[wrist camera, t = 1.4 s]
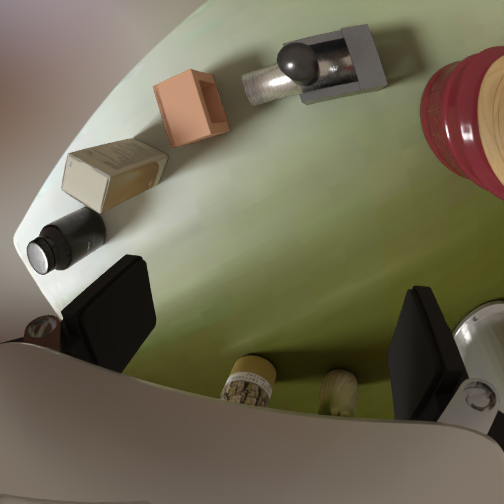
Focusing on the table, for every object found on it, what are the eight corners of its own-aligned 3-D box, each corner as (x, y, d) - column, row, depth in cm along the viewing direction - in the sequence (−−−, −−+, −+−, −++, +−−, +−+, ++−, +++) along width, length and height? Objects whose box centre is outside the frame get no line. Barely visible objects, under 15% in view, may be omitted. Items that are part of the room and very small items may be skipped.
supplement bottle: (111, 248, 45) (59, 286, 34) (81, 246, 47) (30, 279, 36) (103, 205, 42) (44, 235, 32) (72, 206, 44) (17, 233, 33)
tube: (357, 49, 26) (365, 24, 18) (367, 80, 27) (380, 66, 19) (248, 76, 30) (217, 62, 22) (258, 106, 31) (229, 102, 23)
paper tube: (230, 353, 47) (162, 492, 25) (272, 352, 45) (220, 506, 23) (241, 382, 50) (186, 513, 28) (280, 383, 48) (238, 525, 25)
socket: (212, 75, 32) (190, 69, 26) (230, 131, 34) (210, 134, 29) (179, 89, 33) (152, 86, 28) (195, 142, 35) (171, 148, 30)
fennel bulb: (318, 369, 45) (308, 434, 34) (347, 358, 42) (344, 424, 32) (336, 391, 46) (329, 453, 35) (363, 381, 44) (363, 445, 33)
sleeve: (362, 39, 26) (367, 24, 21) (378, 90, 28) (387, 84, 23) (290, 54, 29) (281, 42, 23) (306, 105, 31) (301, 102, 25)
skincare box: (122, 166, 39) (58, 189, 28) (132, 136, 37) (65, 151, 26) (160, 186, 39) (99, 216, 28) (171, 156, 37) (109, 176, 26)
